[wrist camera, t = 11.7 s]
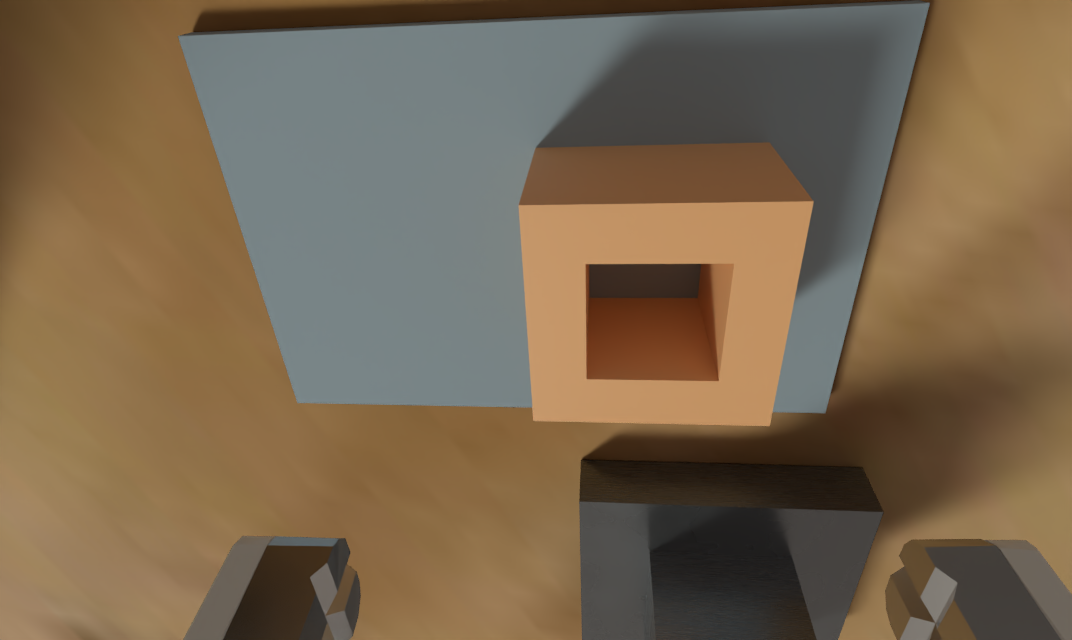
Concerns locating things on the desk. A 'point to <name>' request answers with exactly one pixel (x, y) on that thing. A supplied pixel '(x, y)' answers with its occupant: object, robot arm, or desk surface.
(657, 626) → the stand
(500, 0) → the desk surface
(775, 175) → the collar
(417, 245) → the mat
